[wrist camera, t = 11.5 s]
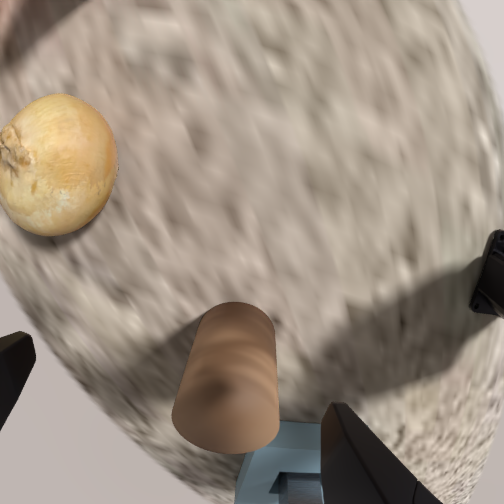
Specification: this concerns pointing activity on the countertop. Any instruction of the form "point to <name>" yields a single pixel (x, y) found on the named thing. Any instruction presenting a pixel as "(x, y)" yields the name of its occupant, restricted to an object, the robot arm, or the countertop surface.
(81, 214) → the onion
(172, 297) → the countertop surface
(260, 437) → the round peg
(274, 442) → the socket board
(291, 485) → the square peg
